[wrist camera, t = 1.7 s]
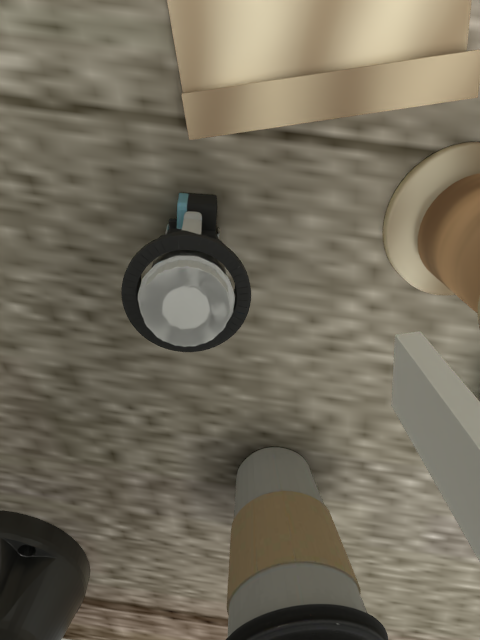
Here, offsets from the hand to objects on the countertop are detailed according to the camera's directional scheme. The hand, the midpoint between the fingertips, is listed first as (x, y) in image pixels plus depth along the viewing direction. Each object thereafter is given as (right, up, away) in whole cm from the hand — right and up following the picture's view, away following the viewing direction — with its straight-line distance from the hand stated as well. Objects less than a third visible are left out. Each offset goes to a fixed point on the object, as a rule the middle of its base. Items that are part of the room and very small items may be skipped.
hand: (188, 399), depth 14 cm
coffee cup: (+4, -10, +22) cm, 25 cm away
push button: (-1, +7, +13) cm, 15 cm away
